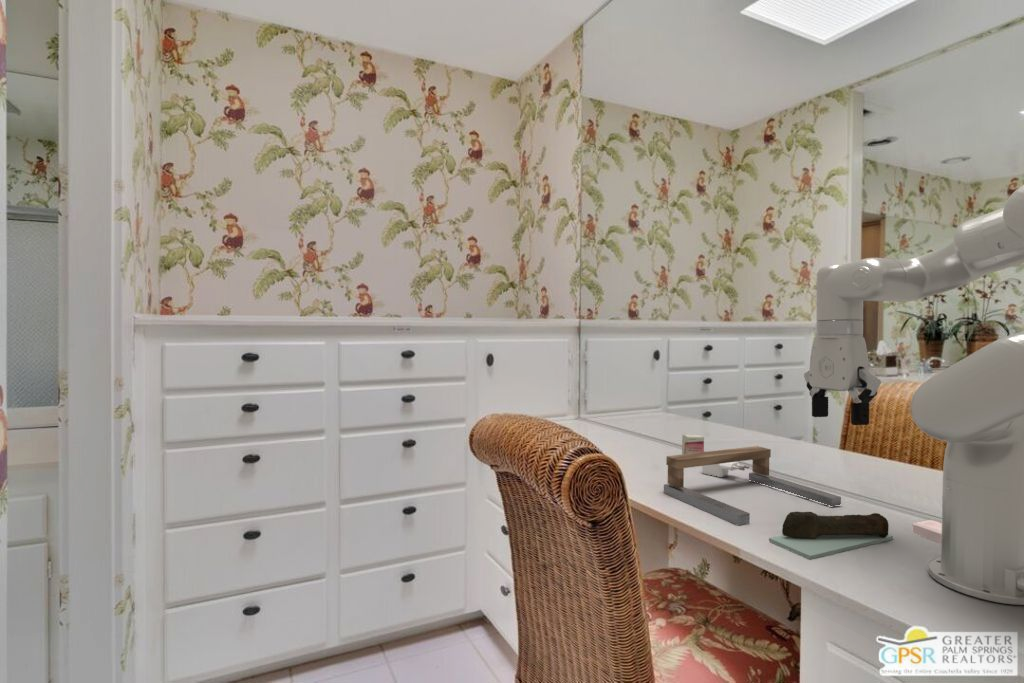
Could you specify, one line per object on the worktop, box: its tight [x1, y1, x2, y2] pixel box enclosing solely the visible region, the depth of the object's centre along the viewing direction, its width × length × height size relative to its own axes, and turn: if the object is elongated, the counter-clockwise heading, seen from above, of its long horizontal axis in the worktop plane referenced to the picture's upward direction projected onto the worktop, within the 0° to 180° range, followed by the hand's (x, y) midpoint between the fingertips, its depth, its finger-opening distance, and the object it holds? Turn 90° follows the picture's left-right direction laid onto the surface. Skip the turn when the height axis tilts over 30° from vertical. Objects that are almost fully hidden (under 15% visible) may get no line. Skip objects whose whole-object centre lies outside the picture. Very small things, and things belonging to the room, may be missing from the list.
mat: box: [768, 533, 894, 560], centre depth 95 cm, size 8×22×1 cm, turn 113°
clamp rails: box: [663, 472, 842, 526], centre depth 118 cm, size 22×30×2 cm
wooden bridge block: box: [666, 445, 772, 488], centre depth 126 cm, size 4×29×6 cm, turn 113°
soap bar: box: [911, 519, 942, 544], centre depth 95 cm, size 5×9×2 cm, turn 17°
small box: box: [681, 433, 705, 455], centre depth 151 cm, size 5×4×8 cm
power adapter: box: [701, 450, 750, 478], centre depth 136 cm, size 11×5×6 cm, turn 43°
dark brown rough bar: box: [781, 511, 890, 539], centre depth 95 cm, size 19×4×5 cm, turn 92°
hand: (839, 420), depth 99 cm, fingers open, 9 cm apart
